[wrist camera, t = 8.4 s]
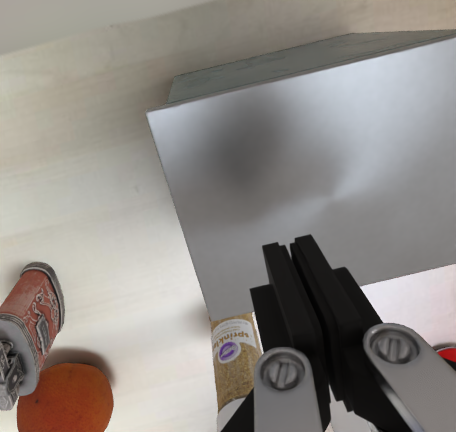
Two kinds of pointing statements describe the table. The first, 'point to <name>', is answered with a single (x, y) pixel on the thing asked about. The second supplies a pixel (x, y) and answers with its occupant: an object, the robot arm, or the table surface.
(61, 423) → the fruit
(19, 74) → the table surface
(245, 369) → the sprinkles bottle
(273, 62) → the teal box
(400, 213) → the box lid
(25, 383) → the lighter
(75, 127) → the table surface
